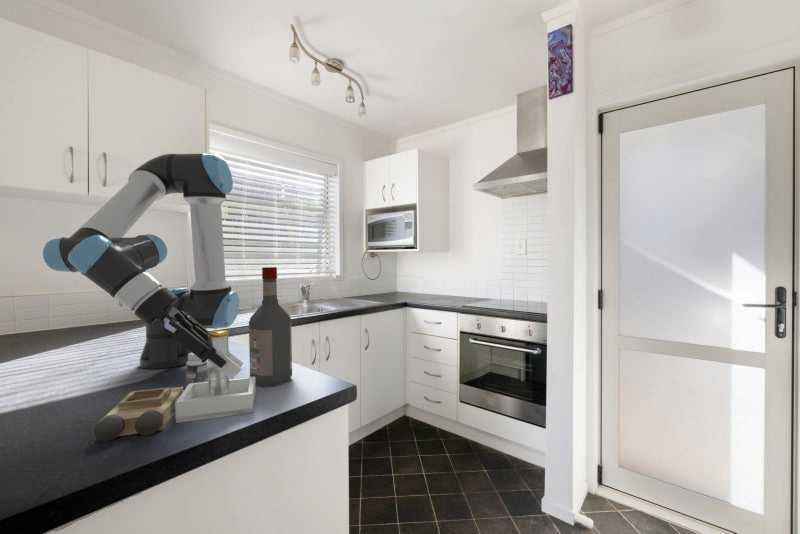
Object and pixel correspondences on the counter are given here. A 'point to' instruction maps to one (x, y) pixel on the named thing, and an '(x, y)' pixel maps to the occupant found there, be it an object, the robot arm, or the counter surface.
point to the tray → (216, 400)
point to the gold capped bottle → (216, 377)
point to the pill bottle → (195, 370)
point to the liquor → (270, 336)
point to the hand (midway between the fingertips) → (237, 370)
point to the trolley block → (139, 413)
